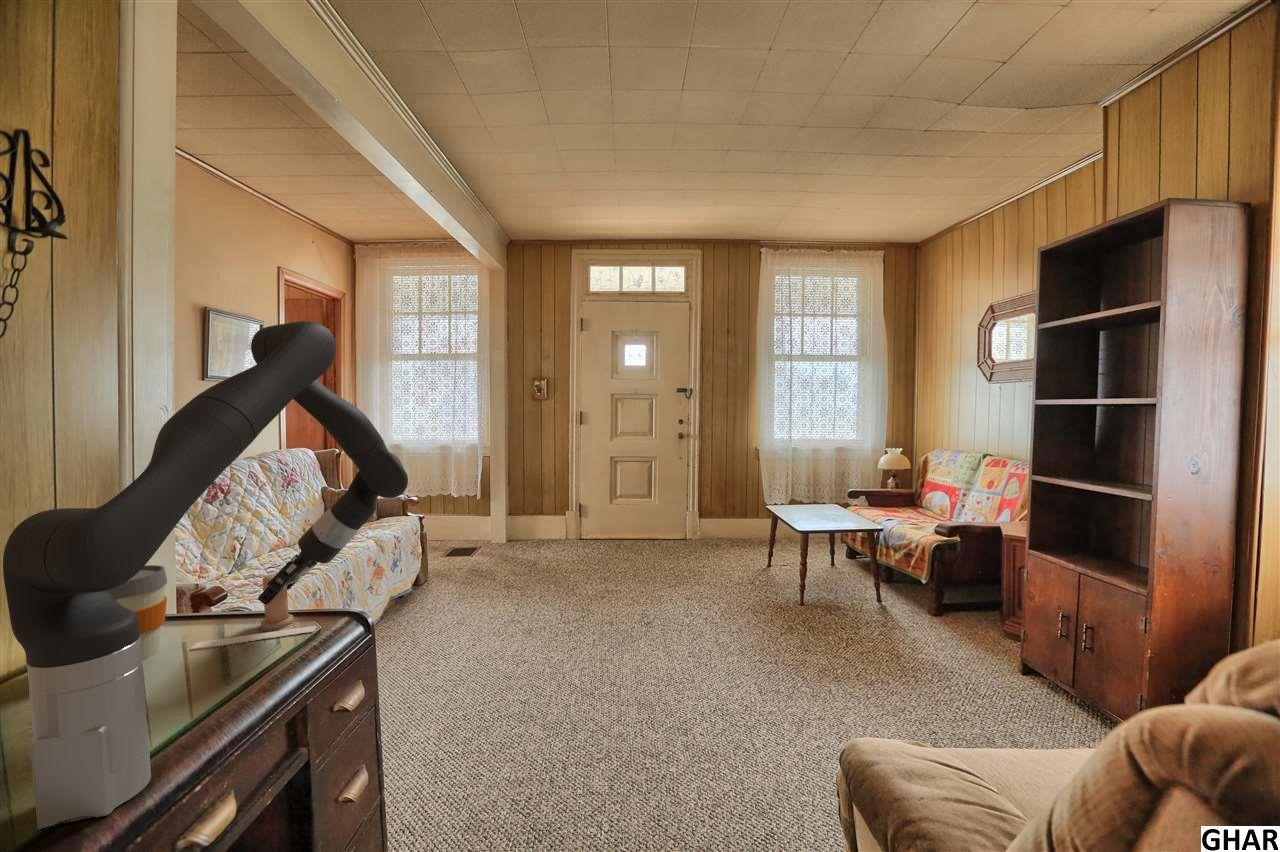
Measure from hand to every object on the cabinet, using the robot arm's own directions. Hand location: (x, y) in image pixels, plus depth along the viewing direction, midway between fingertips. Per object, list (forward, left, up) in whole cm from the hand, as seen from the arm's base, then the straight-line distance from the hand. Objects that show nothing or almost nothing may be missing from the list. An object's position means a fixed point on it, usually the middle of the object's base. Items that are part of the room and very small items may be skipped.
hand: (273, 594), depth 115 cm
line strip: (-6, +2, -6) cm, 9 cm away
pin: (0, 0, -6) cm, 6 cm away
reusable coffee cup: (-6, +22, -7) cm, 24 cm away
